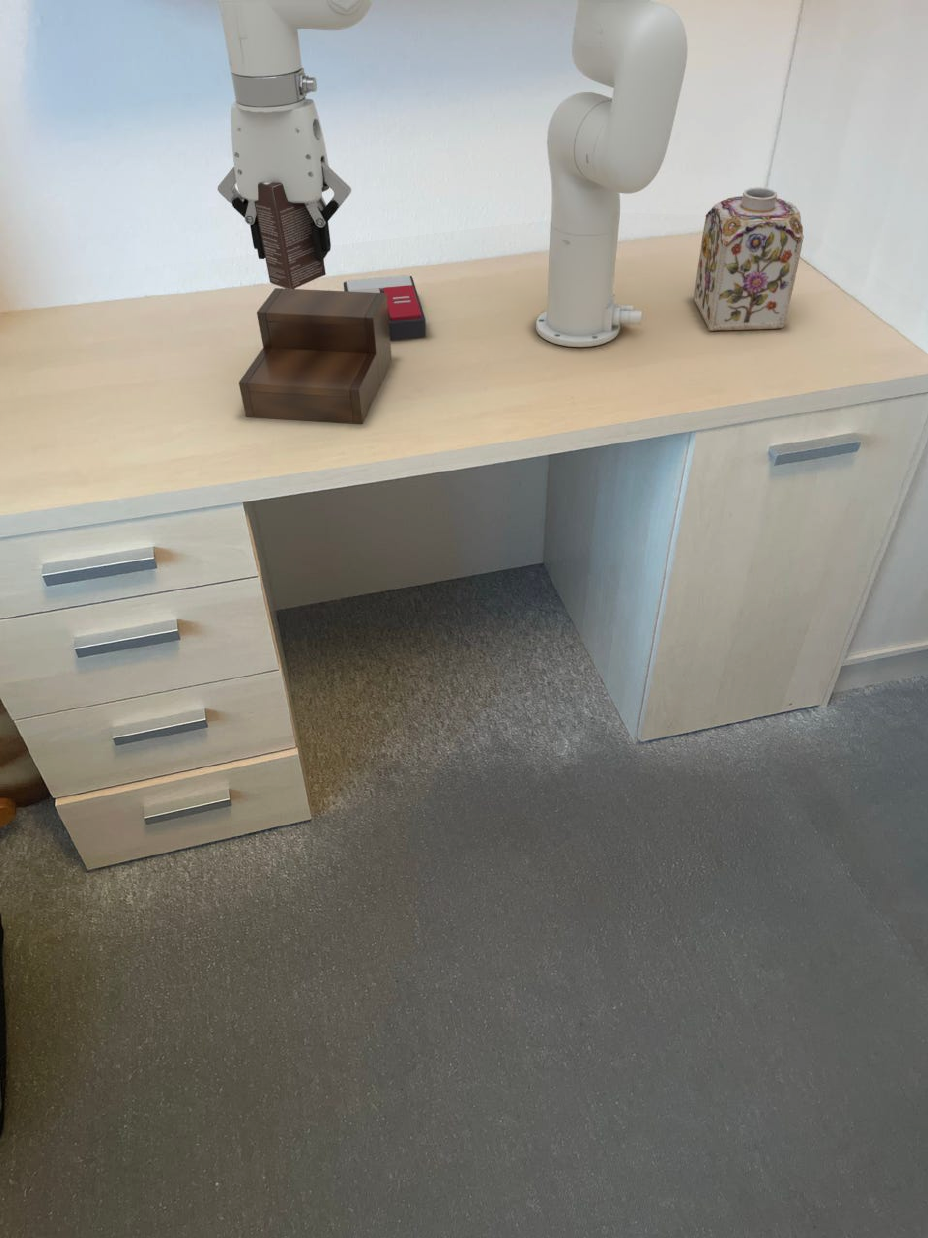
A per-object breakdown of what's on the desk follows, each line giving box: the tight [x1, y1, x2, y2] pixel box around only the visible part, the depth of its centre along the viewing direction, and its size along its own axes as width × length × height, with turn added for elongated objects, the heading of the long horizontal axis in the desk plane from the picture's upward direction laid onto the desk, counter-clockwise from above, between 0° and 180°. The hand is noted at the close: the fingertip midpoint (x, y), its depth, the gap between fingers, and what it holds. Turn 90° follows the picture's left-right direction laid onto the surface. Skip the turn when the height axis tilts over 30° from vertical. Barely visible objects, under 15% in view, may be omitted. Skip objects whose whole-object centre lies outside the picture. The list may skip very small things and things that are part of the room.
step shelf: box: [238, 287, 393, 425], centre depth 123 cm, size 16×18×10 cm
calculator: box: [343, 274, 427, 342], centre depth 140 cm, size 11×4×15 cm
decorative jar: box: [693, 186, 805, 332], centre depth 134 cm, size 12×12×18 cm
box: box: [254, 182, 327, 290], centre depth 108 cm, size 6×4×12 cm
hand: (293, 254), depth 110 cm, fingers closed on box, 6 cm apart
